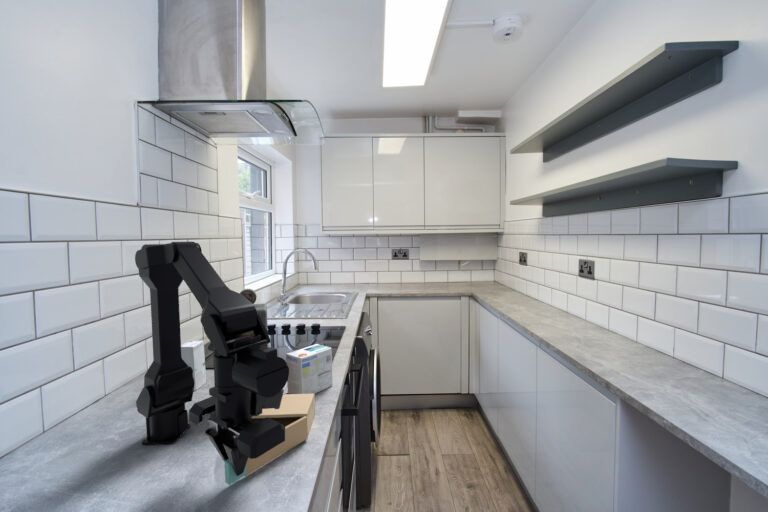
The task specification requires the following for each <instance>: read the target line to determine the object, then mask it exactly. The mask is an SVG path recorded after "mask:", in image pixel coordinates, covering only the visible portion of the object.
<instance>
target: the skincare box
mask: <svg viewBox="0 0 768 512" xmlns="http://www.w3.org/2000/svg"><path fill="white" fill-rule="evenodd" d="M204 341H205V340H190V341H188V342H185V343H183V344H181V356H182V359H183V360H184V361H185V363H186V364H187V365H188V366H190V367H191V368H192V369H193V379H194V382H195V384H194V390H193V392H196V391H197V390H198V389H200V388H201V387H202V386H203V385H204V384H206V383H207V376H206V374H207V373H206V360H205V359H206V358H205V357H206V356H205V342H204Z"/></svg>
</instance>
